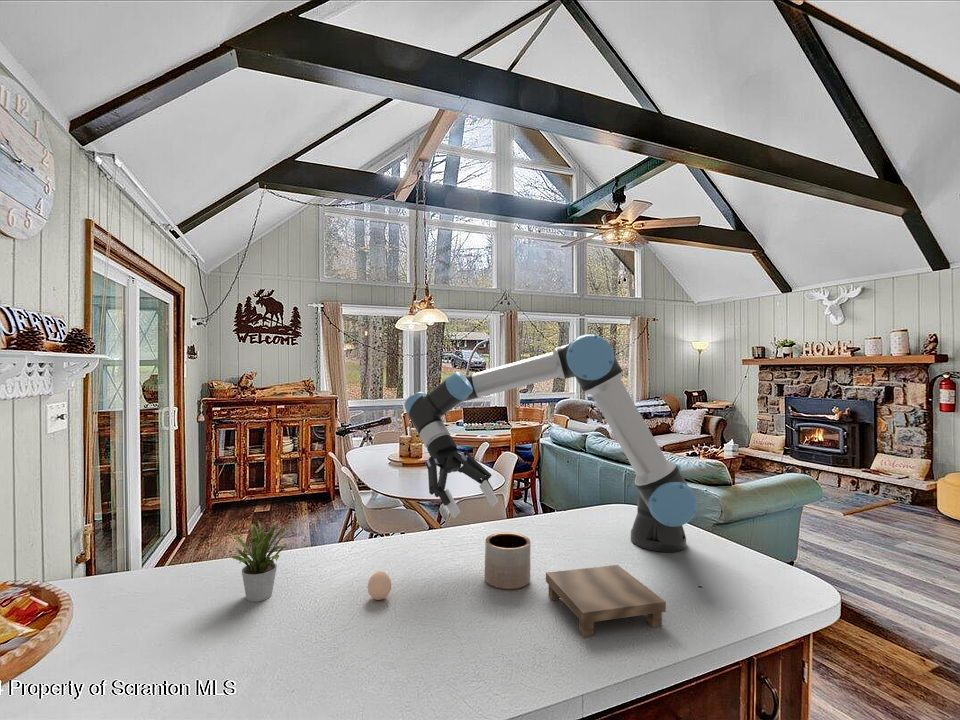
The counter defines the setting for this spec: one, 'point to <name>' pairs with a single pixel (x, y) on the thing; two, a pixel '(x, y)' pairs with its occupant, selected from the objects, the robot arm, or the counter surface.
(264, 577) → the house plant
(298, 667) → the counter surface
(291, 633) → the counter surface
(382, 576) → the egg
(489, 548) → the planter
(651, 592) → the plant stand
